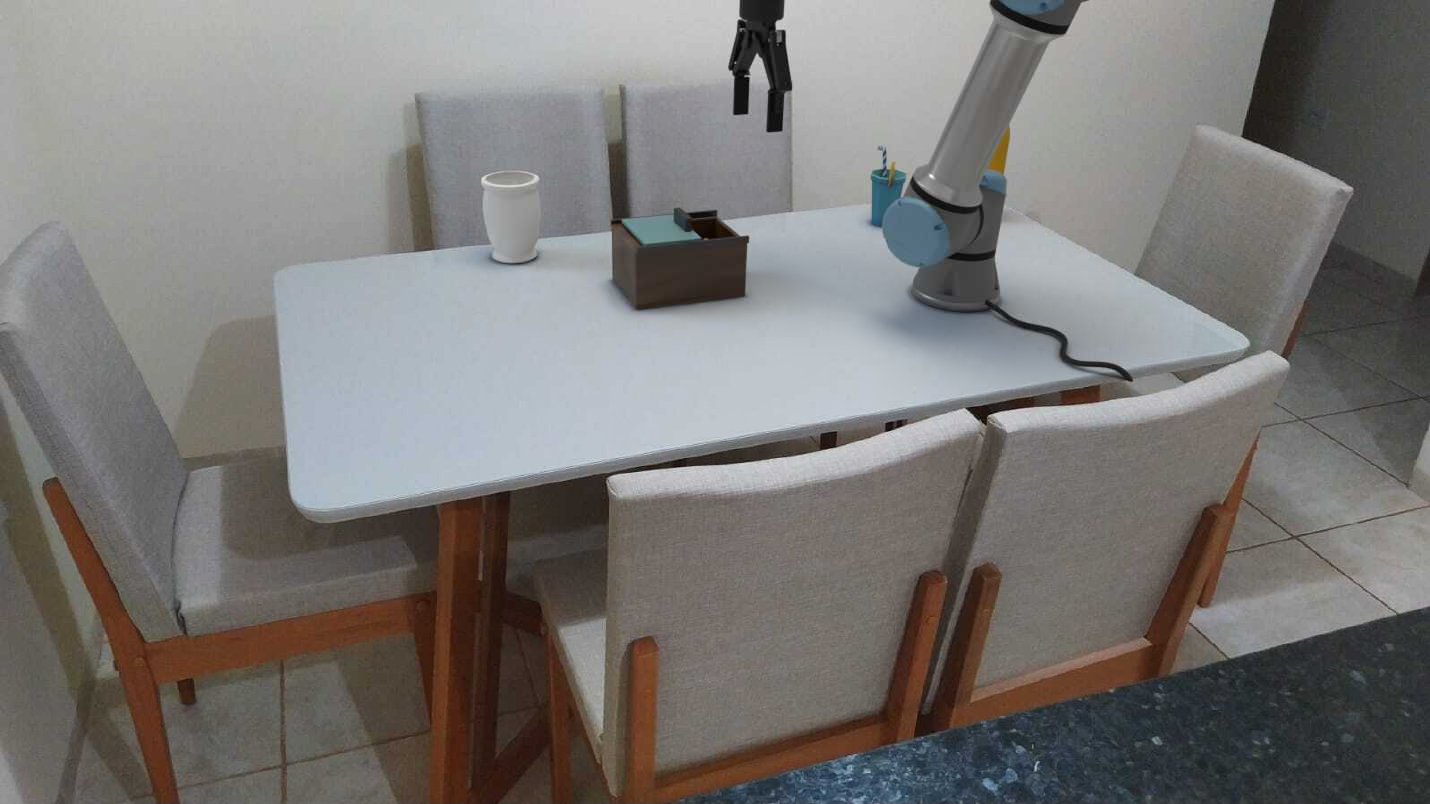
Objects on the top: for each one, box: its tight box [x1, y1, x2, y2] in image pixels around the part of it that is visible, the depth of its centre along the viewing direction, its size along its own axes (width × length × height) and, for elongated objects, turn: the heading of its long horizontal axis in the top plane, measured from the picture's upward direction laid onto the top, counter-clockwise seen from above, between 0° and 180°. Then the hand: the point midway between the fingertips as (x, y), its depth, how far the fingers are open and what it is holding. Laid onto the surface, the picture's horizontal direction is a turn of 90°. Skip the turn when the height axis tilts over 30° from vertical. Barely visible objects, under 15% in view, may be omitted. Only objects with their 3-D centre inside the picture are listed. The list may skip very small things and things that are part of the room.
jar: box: [480, 170, 542, 264], centre depth 194 cm, size 11×10×15 cm
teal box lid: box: [621, 207, 702, 246], centre depth 179 cm, size 13×10×3 cm
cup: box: [870, 145, 908, 228], centre depth 219 cm, size 14×8×15 cm, turn 10°
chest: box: [610, 209, 750, 310], centre depth 183 cm, size 15×20×11 cm
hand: (757, 122), depth 184 cm, fingers open, 13 cm apart
